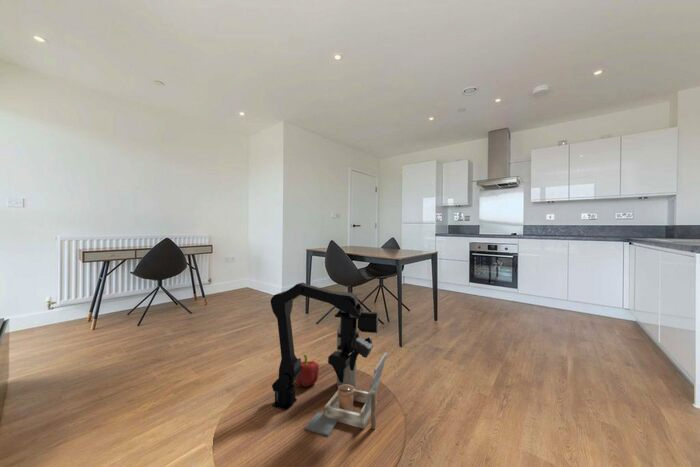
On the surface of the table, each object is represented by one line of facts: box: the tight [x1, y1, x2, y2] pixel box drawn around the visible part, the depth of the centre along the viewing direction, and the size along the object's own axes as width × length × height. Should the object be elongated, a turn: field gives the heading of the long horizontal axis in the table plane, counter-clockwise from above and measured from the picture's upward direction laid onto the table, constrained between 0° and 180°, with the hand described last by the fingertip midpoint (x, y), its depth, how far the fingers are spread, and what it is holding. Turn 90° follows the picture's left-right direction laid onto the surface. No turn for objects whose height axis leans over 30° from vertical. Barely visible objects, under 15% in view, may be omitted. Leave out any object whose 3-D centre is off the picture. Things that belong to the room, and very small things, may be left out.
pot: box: [337, 384, 355, 412], centre depth 92 cm, size 6×6×7 cm
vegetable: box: [294, 354, 320, 387], centre depth 110 cm, size 11×10×10 cm
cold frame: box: [323, 352, 388, 430], centre depth 91 cm, size 18×14×19 cm
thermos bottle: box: [336, 322, 357, 389], centre depth 109 cm, size 8×8×28 cm
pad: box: [304, 412, 339, 437], centre depth 84 cm, size 8×8×1 cm
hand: (347, 376), depth 91 cm, fingers open, 9 cm apart
